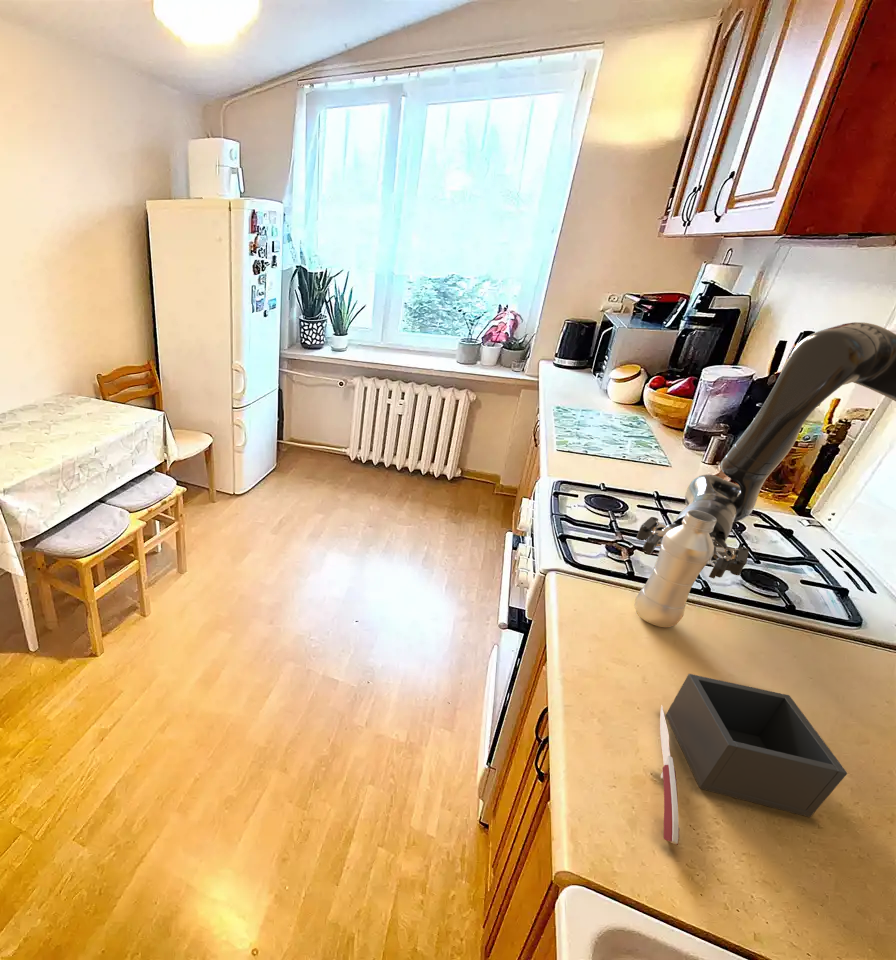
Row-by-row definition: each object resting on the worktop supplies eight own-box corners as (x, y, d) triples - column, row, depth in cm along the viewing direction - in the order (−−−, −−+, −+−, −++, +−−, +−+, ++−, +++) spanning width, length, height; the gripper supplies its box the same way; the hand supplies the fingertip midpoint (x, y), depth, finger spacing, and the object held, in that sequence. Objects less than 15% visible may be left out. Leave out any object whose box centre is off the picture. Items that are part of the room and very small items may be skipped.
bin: (759, 737, 67) (789, 694, 63) (810, 817, 58) (848, 773, 54) (665, 715, 70) (688, 673, 66) (699, 788, 61) (728, 744, 57)
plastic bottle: (639, 628, 85) (688, 524, 76) (623, 602, 90) (667, 502, 81) (684, 636, 83) (739, 530, 74) (665, 608, 89) (714, 508, 80)
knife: (676, 856, 54) (687, 839, 53) (661, 848, 55) (672, 832, 53) (661, 715, 70) (670, 700, 68) (650, 711, 70) (658, 695, 69)
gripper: (663, 493, 96) (637, 523, 86) (764, 524, 87) (748, 561, 77) (648, 527, 99) (622, 560, 89) (743, 561, 90) (727, 601, 80)
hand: (680, 560), depth 83 cm, fingers open, 8 cm apart
